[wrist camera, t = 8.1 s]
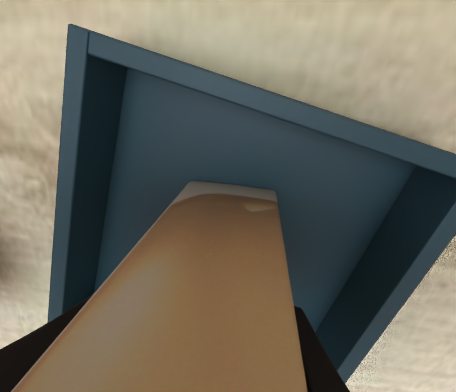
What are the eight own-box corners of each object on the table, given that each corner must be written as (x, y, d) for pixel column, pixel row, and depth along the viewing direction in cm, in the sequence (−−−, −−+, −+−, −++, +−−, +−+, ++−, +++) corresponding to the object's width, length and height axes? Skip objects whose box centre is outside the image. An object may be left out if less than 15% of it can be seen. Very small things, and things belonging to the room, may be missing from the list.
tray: (435, 148, 12) (503, 170, 9) (303, 362, 17) (313, 427, 14) (122, 41, 12) (67, 22, 8) (87, 290, 17) (45, 338, 14)
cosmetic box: (262, 292, 15) (269, 925, 4) (184, 282, 15) (-32, 833, 4) (279, 182, 13) (450, 1008, 1) (187, 172, 13) (-337, 760, 2)
